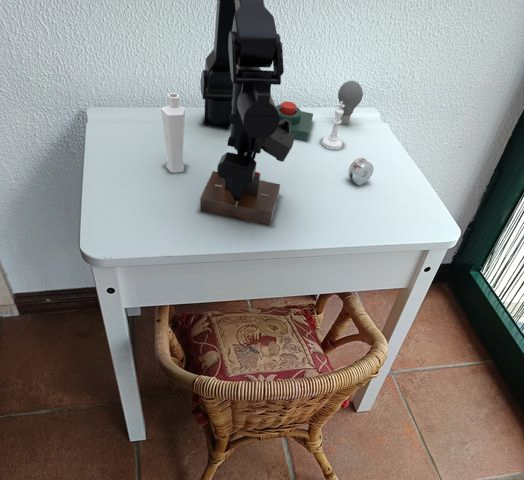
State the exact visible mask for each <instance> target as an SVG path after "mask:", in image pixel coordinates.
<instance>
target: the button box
mask: <svg viewBox="0 0 524 480" xmlns="http://www.w3.org/2000/svg"><path fill="white" fill-rule="evenodd" d="M281 104H282V103H280V104H278V105H275V106H276V108H277V111H278V113H279V118H280V121H281V120H283V119H284V118H285V119H287V120H288V121H290V122H291V132H290V134H291V133H294V134H293V136H294V140H299V141H304V142H308V139H309V135H310V132H311V131H310V130H311V127H312V122H313V117H314V113H312V112H307V111H303V110H301V109H300V107H297V106H296V111H295V114H294V115H286V114H283V113H281V112H280V110H281ZM280 121H279V122H280Z"/></svg>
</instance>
